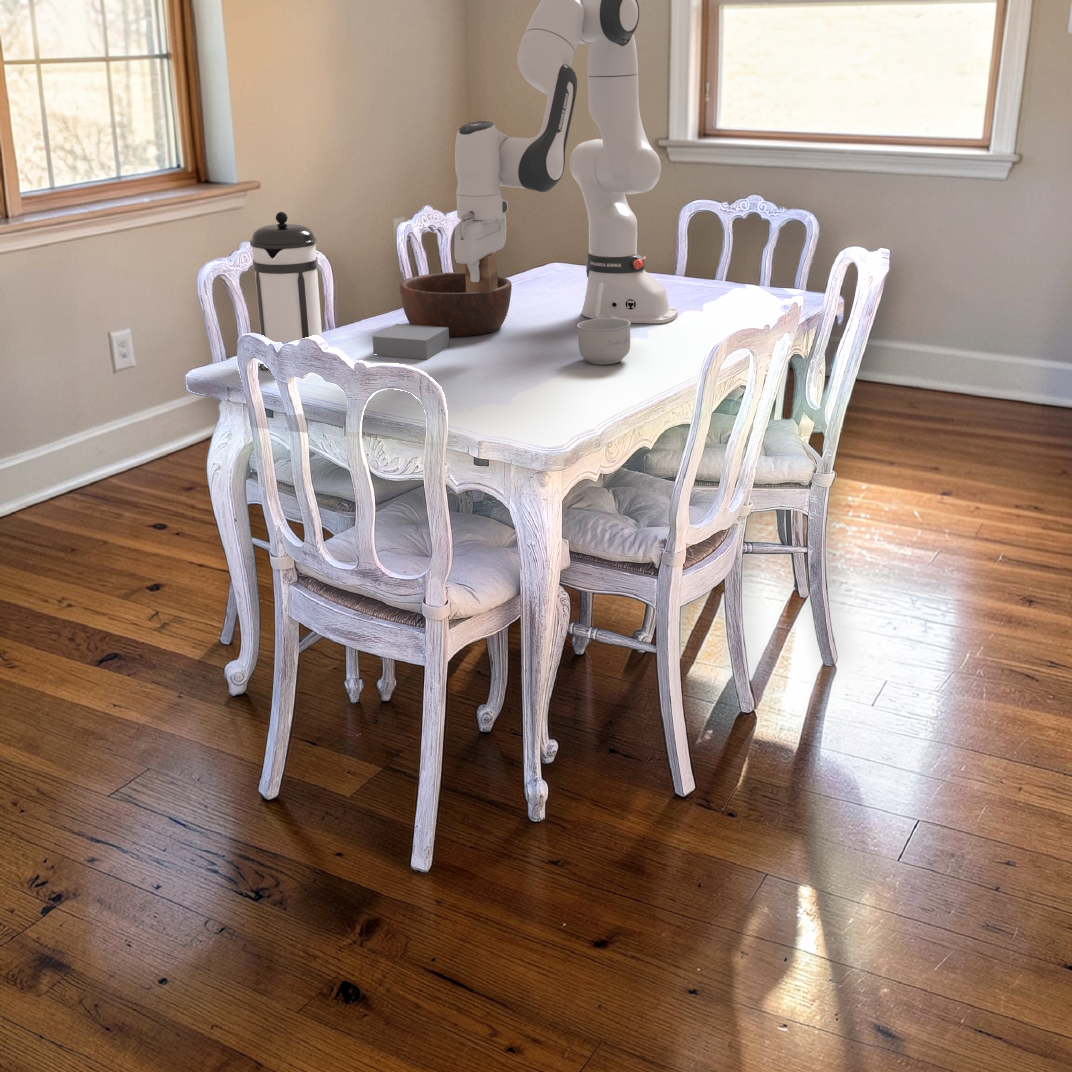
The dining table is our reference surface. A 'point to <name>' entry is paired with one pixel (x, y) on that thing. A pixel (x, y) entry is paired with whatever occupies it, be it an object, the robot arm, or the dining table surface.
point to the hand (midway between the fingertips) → (481, 278)
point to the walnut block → (484, 275)
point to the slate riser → (411, 341)
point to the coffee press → (286, 281)
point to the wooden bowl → (454, 304)
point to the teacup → (604, 340)
